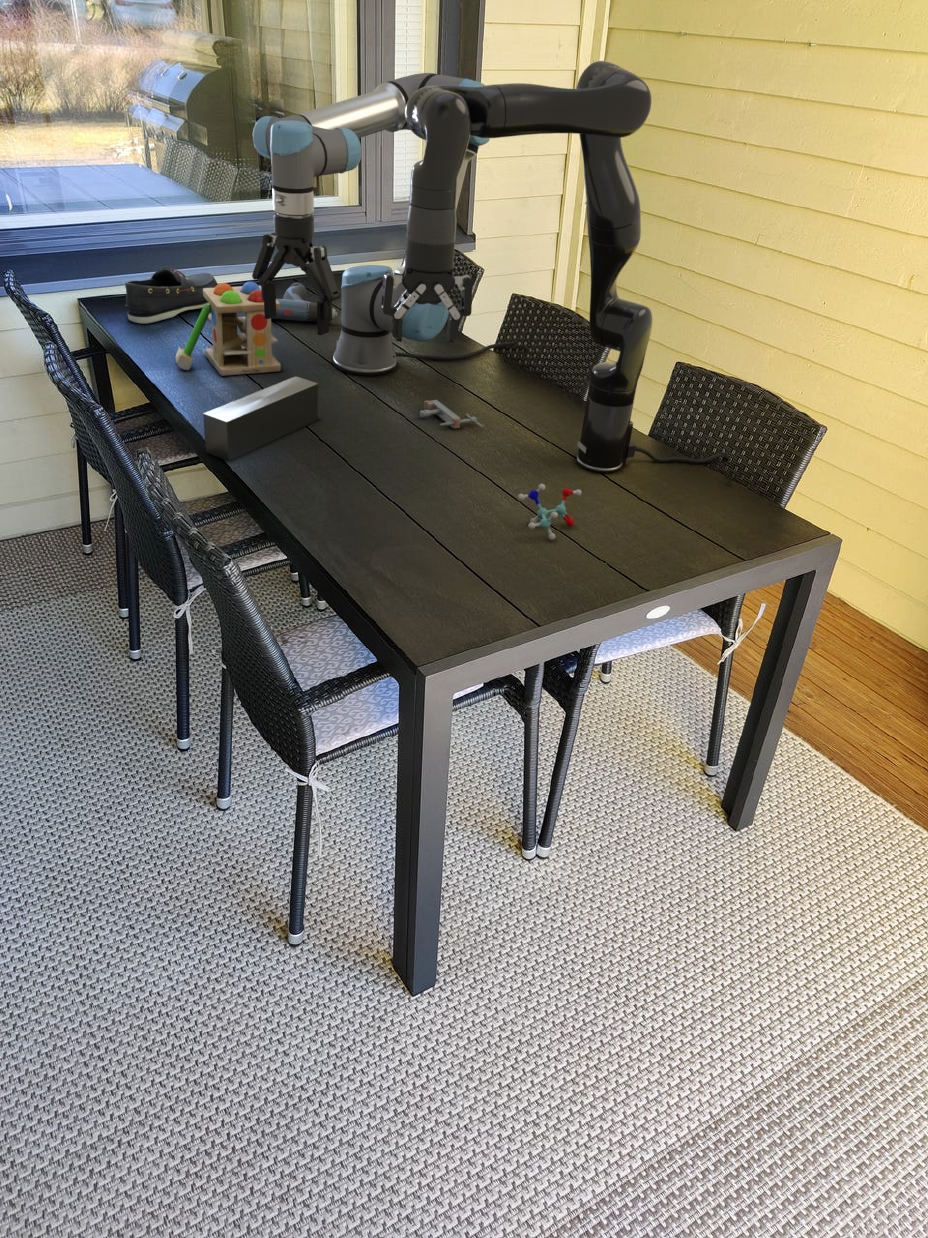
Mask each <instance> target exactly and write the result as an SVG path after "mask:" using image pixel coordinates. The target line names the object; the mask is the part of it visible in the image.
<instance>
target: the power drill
mask: <svg viewBox="0 0 928 1238" xmlns="http://www.w3.org/2000/svg"><path fill="white" fill-rule="evenodd" d="M307 295H308V290H307V287H306V285H304V284H303V283H301V282H293V283H292V284H291V285H290V286H289V287H288V288H287V289H286V291H285V292H284V294H283V297H282V298H276V300H277V301H278V302H279V303H280V310H276V316H275V317H273V318H272V319H274V320H275V319H276V320H283V321H294V322H295V321H297V322H317V302H313V301H307V300H305V299H306V297H307ZM337 317H338V312H337V311H336V308H334V307H333V306H332V315H331V317H330V318H329V323H330V322H332V321H333V320H334V319H336V318H337Z"/></svg>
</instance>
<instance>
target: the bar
mask: <svg viewBox="0 0 928 1238" xmlns="http://www.w3.org/2000/svg"><path fill="white" fill-rule="evenodd" d="M202 416H203V428H204V429H203V430H204V431H203V432H204V444H205V445H204V446H205V453H206V454H209V455H211V456H214V457H217V458H219V459H222V460H224V461H227V462H230V461H232V460H235V459H237V458H240V457H241V456H243V455H245V454H247V453H249V452H252V451H254V450H256V449H258V448H261V447H262V446H265V445H267V444H269V443H272V442H273V441H275V440H277V439H279V438H282V437H284V436H286V435H289V434H291V433H293V432H295V431H297V430H299V429H301V428H303V427H305V426H308V425H310V424H312V423H314V422H316V421H318V420H319V383H318V382H314V381H311V380H309V379H307V378H306V379H305V378H303V377H299V376H292V377H290V378H288V379H285V380H283V381H280V382H278V383H275V384H272V385H270V386H268V387H266V388H263V389H260V390H258V391H255V392H253V393H251V394H248V395H245V396H244V397H241V398H238V399H236V400H234V401H231V402H229V403H226V404H224V405H221V406H218V407H216V408H214V409H211V410H208V411H206V412H203V414H202Z"/></svg>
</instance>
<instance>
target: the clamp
mask: <svg viewBox="0 0 928 1238" xmlns="http://www.w3.org/2000/svg"><path fill="white" fill-rule="evenodd" d="M433 415H436V416H437V417H438V418H439V419H441V420H442V421H444V422H441V423H439V427H444V426H445V427H449V426H450V427H451V428H452V429H460V428H461V425H462V424H468V423H469V424H476V425H477V426H479V427H480V429H481V430H485V428H486V426H485V424H482V423H480V422H478V418H477V416H470V414H469V413H467V412H466V413H465V414H464V417H465V418H464V419H462V418H461V417H460V416H459V415H457V414H456V413H455V412H453V411H452V410H450V409H449V408H448V407H447V406H445V404H443V403H442V402H440V401H439V400H438V399H432V400H429V399H428V400H424V404H423V410H420V411H419V416H420V417H422V418H427V417H431V416H433Z"/></svg>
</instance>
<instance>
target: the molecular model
mask: <svg viewBox="0 0 928 1238" xmlns="http://www.w3.org/2000/svg"><path fill="white" fill-rule="evenodd" d="M544 490H546V485H545V484H544V483H539V485H538V488H537V489H533V490H531V491H529V493H528V494H527V493H526V494H523V493H519V494H518V495H517V499H518V500H519V501H520V502H522V501H524V500H525V499H530V500H532V501H534V503H535V504H536V507H537V509H538V510H537V512H536V513H537V515H536V516H535V517H531V519H530V522H529V523H528V525H527V526H528V528H529V530H534V529H536V528H537V527H541V528H542V529H544V530H546V532H547V534H548V539H549V540H550V541H554V540H555V539H556V534H555V533H553V532H552V529H551V528H550V527H551V525H552V524H551V522H552V520H553V519H557V518H558V516H561V517H562V519H563V520H564V522H565V525H566V526H567V527H568V528H572V527H573V526H575V520H574V518H572V517H570V515H569V514H568V513H567V507H566V506H565V504H566V500H567V498H569V497H570V496H571V495H575V496H576V497H580V496H581V495H582V490H581V489H575V490H571V489H570V488H568V487H564V488H563V489H562V491H561V493H562V499H561V502H560V504H558V505H556V507H555V508H552V509H547V508H545V507H542V505H541V503H540V500H539V499H538V497H539V493H540V492H542V491H544ZM548 514H550V516H549V517H547V516H548ZM539 519H541V520H540V522H538V520H539Z"/></svg>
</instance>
